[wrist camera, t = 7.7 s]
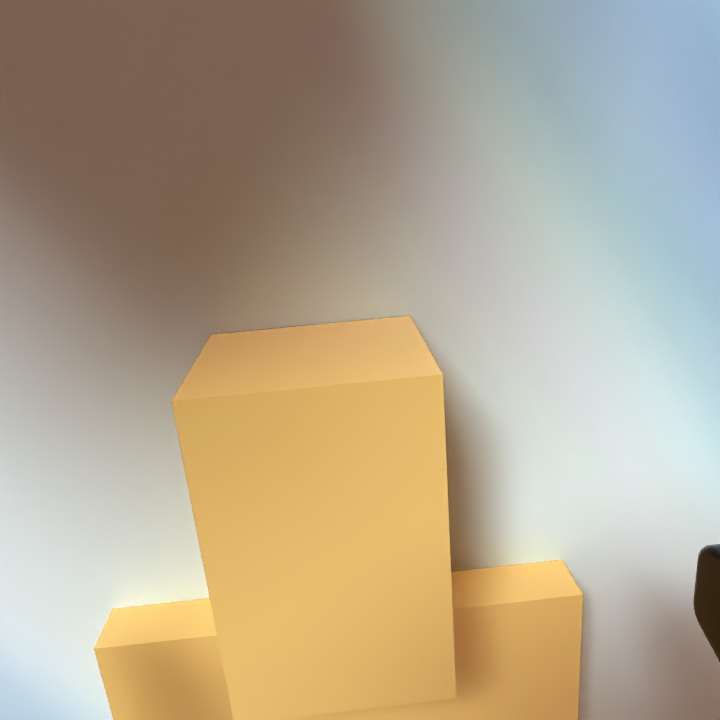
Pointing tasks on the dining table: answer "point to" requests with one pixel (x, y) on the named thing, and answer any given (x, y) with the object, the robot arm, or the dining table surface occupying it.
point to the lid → (336, 552)
